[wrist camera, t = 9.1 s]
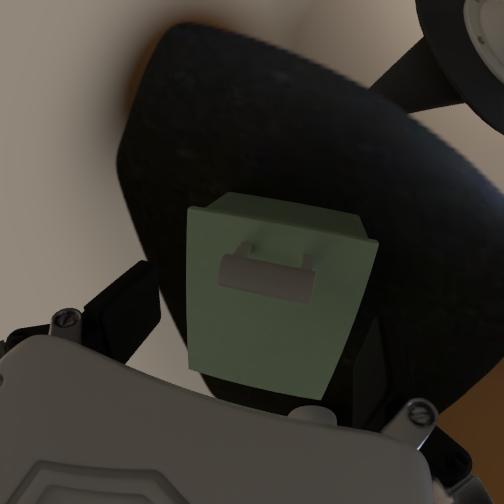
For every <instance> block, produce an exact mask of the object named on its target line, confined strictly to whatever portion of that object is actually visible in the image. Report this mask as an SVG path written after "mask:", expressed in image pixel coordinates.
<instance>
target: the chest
mask: <svg viewBox="0 0 504 504" xmlns="http://www.w3.org/2000/svg"><path fill="white" fill-rule="evenodd" d="M206 208H208V209H214V210H220V211H226V212H232V213H238V214H244V215H250V216H255V217H261V218H267V219H272V220H278V221H283V222H288V223H294V224H299V225H304V226H310V227H315V228H320V229H325V230H330V231H335V232H340V233H345V234H349V235H354V236H359V237H364V238H368V236H367V234H366V231H365V229H364V227H363V224H362V222H361V220H360V217H359V215H355V214H350V213H345V212H341V211H336V210H331V209H326V208H321V207H316V206H310V205H305V204H300V203H294V202H289V201H283V200H277V199H271V198H265V197H259V196H253V195H247V194H240V193H234V192H228V193H227V194H225V195H224V196H222V197H221V198H219V199H218V200H216V201H215V202H213V203H212V204H210V205H209V206H207V207H206Z"/></svg>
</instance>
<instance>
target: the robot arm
mask: <svg viewBox="0 0 504 504" xmlns="http://www.w3.org/2000/svg"><path fill="white" fill-rule="evenodd" d="M463 12H464V21H465V25H466V28H467V31H468V34H469V36H470V39H471V41H472V43H473V45H474V47H475V49H476V51H477V52H478V54H479V56H480V57H481V59H482V60H483V62H484V63H485V64H486V66H487V67H488V68H489V70H490V71H491V72H492V73H493V74H494V75H495V76H496V78H497V79H498V80H499V81H500V82H502V83H503V84H504V0H466V1H465V3H464V10H463ZM160 319H161V310H160V298H159V285H158V271H157V267H155V265H154V263H152V262H148V261H144V260H141V261H139V262H138V263H137V264H135V265H134V266H133V267H131V268H130V269H129V270H128V271H126V272H125V273H124V274H123V275H121V276H120V277H119V278H118V279H117V280H115V281H114V282H113V283H112V284H110V285H109V286H108V287H107V288H106V289H104V290H103V291H102V292H101V293H100V294H98V295H97V296H96V297H95V298H94V299H92V300H91V301H90V302H89V303H88V304H86V305H85V306H84V312H83V313H81V312H80V311H79V310H77V309H74V308H66V309H62V310H60V311H58V312H56V313H55V314H54V315H53V317H52V319H51V323H50V324H46V325H40V326H33V327H27V328H21V329H17V330H15V331H13V332H12V333H11V334H10V335H9V336H8V337H7V340H6V342H4V340H2V341H0V504H494V503H493V501H492V500H491V498H490V496H489V495H488V493H487V491H486V490H485V488H484V487H483V485H482V483H481V481H480V480H479V478H478V477H477V475H476V474H475V475H472V474H471V469H472V459H471V457H470V455H469V454H468V452H467V451H466V450H465V449H464V448H462V447H461V446H460V445H459V444H458V443H456V442H455V441H454V440H453V439H452V438H450V437H449V436H448V435H447V434H446V433H445V432H443V431H442V430H441V429H440V428H439V427H437V426H436V424H437V422H438V412H437V410H436V408H435V406H434V405H433V404H432V403H431V402H429V401H428V400H426V399H422V398H416V392H415V387H414V382H413V377H412V372H411V367H410V362H409V358H408V354H407V351H406V350H405V349H403V347H402V343H401V339H400V335H399V330H398V326H397V323H396V319H395V316H394V315H389V314H383V313H381V314H380V316H375V318H374V320H373V323H372V325H371V327H370V330H369V332H368V334H367V337H366V339H365V341H364V343H363V346H362V348H361V350H360V352H359V354H358V357H357V359H356V361H355V363H354V367H353V421H352V428H349V427H342V426H336V425H329V424H323V423H318V422H312V421H307V420H302V419H296V418H291V417H286V416H282V415H277V414H273V413H268V412H264V411H260V410H256V409H252V408H248V407H244V406H241V405H237V404H233V403H230V402H226V401H223V400H220V399H216V398H213V397H210V396H207V395H203V394H200V393H197V392H194V391H191V390H189V389H186V388H182V387H180V386H177V385H174V384H172V383H169V382H166V381H164V380H161V379H158V378H156V377H153V376H151V375H148V374H146V373H143V372H141V371H138V370H136V369H134V368H131V367H129V366H127V365H125V364H126V362H127V361H128V360H129V359H130V357H131V356H132V355H133V354H134V353H135V351H136V350H137V349H138V348H139V346H140V345H141V344H142V343H143V341H144V340H145V339H146V338H147V337H148V335H149V334H150V333H151V332H152V331H153V329H154V328H155V327H156V325H157V324H158V323H159V322H160Z"/></svg>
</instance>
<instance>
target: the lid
mask: <svg viewBox="0 0 504 504" xmlns="http://www.w3.org/2000/svg"><path fill="white" fill-rule="evenodd" d="M378 245H379V244H378V242H377V240H373V239H368V238H364V237H359V236H354V235H349V234H345V233H340V232H335V231H330V230H325V229H320V228H315V227H310V226H304V225H299V224H294V223H288V222H283V221H278V220H272V219H267V218H261V217H255V216H250V215H244V214H238V213H232V212H226V211H220V210H214V209H208V208H201V207H195V206H191V207H189V208H188V217H187V260H186V298H187V341H188V363H189V369H191V370H194V371H197V372H200V373H204V374H207V375H210V376H214V377H217V378H221V379H225V380H228V381H232V382H236V383H240V384H244V385H248V386H252V387H256V388H260V389H265V390H269V391H274V392H279V393H284V394H289V395H294V396H299V397H305V398H311V399H317V400H321V398H322V396H323V394H324V392H325V390H326V388H327V385H328V383H329V381H330V379H331V377H332V374H333V372H334V370H335V367H336V365H337V363H338V360H339V358H340V355H341V353H342V351H343V348H344V346H345V343H346V341H347V338H348V335H349V333H350V330H351V328H352V325H353V322H354V320H355V317H356V314H357V311H358V308H359V306H360V303H361V300H362V297H363V294H364V291H365V288H366V285H367V282H368V279H369V275H370V272H371V269H372V266H373V262H374V259H375V256H376V252H377V249H378Z"/></svg>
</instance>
